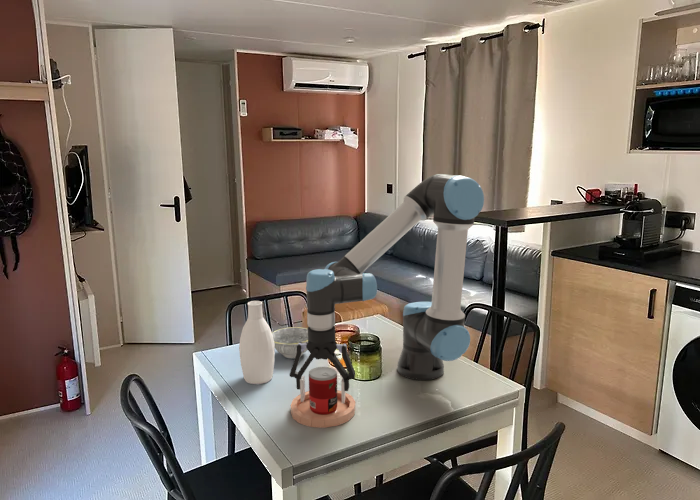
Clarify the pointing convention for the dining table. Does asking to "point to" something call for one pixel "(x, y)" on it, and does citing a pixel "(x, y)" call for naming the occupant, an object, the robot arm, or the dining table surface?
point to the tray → (311, 419)
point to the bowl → (290, 340)
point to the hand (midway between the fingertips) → (323, 400)
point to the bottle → (256, 347)
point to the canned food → (323, 390)
